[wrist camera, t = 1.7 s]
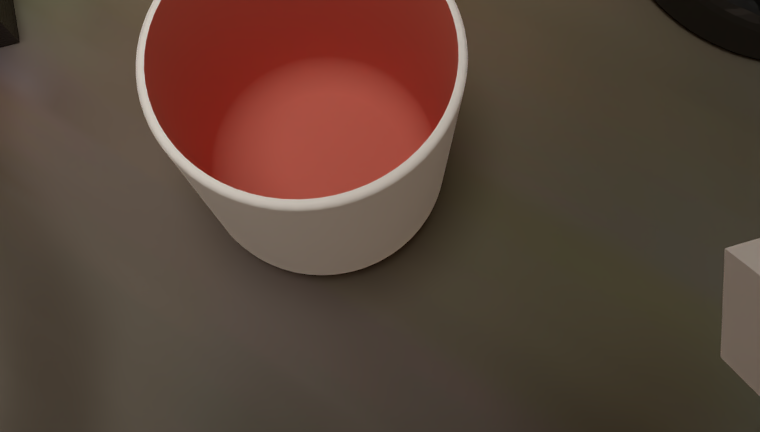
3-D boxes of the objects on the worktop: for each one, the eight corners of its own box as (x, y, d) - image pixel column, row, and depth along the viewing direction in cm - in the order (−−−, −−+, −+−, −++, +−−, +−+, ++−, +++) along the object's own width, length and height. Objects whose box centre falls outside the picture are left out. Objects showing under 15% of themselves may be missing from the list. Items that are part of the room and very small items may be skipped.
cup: (164, 189, 30) (63, 78, 21) (310, 27, 33) (280, -140, 23) (345, 331, 29) (326, 280, 19) (487, 149, 31) (534, 23, 21)
